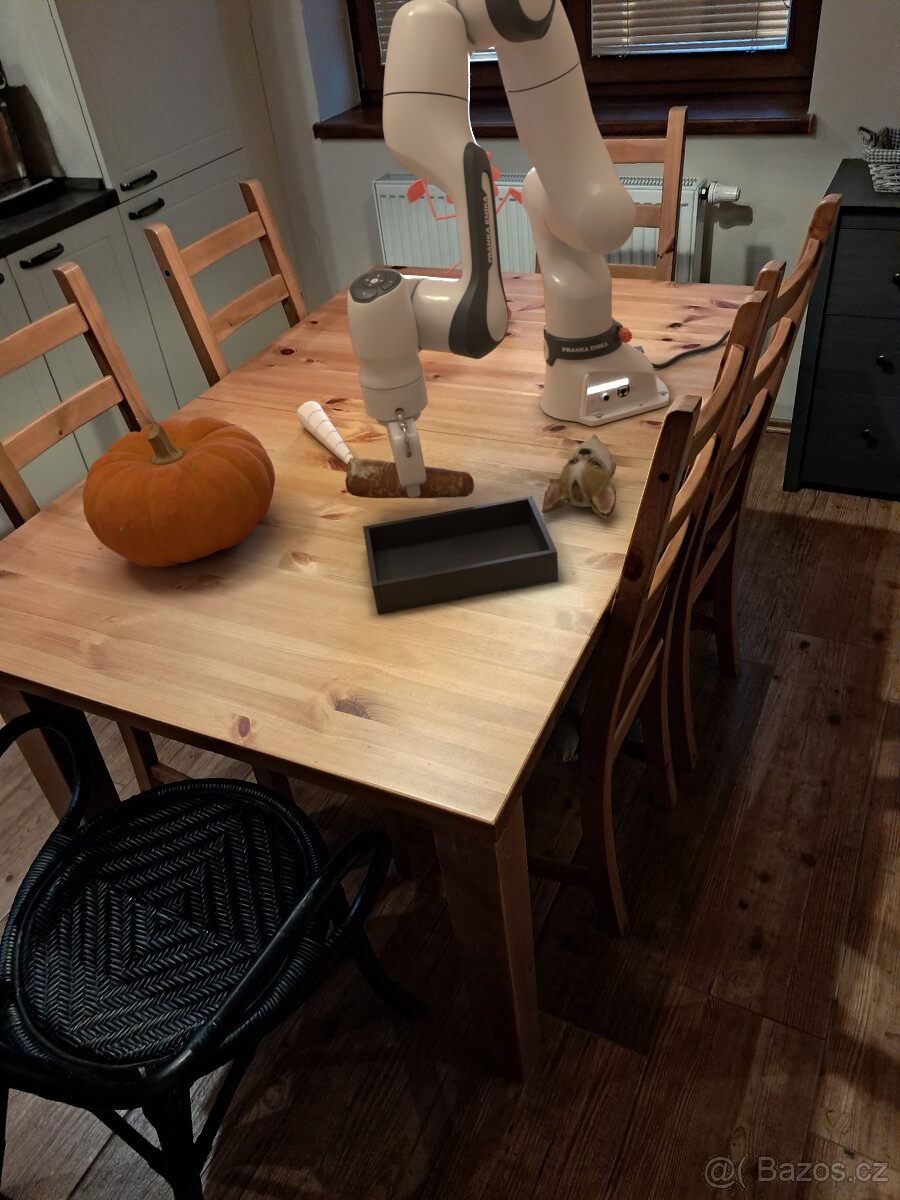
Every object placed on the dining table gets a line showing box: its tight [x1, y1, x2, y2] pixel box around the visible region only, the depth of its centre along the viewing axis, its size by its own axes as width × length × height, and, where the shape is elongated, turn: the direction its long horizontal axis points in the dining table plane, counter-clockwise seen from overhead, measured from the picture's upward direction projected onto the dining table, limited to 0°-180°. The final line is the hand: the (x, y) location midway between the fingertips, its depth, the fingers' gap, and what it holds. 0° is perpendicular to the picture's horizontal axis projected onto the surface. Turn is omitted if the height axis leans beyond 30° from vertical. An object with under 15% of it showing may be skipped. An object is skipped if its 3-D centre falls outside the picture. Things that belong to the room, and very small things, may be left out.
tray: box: [362, 495, 559, 615], centre depth 125 cm, size 25×15×5 cm, turn 99°
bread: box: [344, 457, 475, 499], centre depth 133 cm, size 6×19×6 cm, turn 75°
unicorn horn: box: [296, 400, 355, 466], centre depth 157 cm, size 5×24×5 cm, turn 24°
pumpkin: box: [82, 416, 276, 568], centre depth 134 cm, size 28×28×20 cm
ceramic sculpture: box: [541, 433, 617, 520], centre depth 134 cm, size 11×9×15 cm
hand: (410, 481), depth 133 cm, fingers closed on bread, 6 cm apart
